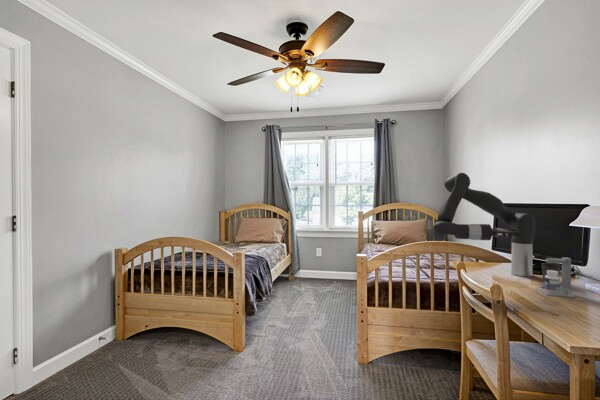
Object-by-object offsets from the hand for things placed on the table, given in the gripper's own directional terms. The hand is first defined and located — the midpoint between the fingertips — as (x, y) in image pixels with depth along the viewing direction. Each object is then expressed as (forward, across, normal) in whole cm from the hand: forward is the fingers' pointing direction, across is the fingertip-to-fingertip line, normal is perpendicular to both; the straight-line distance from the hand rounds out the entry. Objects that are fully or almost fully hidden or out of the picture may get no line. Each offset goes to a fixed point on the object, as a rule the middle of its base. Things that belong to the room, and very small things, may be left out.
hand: (518, 233), depth 138 cm
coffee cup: (+19, +16, +26) cm, 36 cm away
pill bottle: (+13, 0, +26) cm, 29 cm away
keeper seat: (+14, 0, +26) cm, 30 cm away
